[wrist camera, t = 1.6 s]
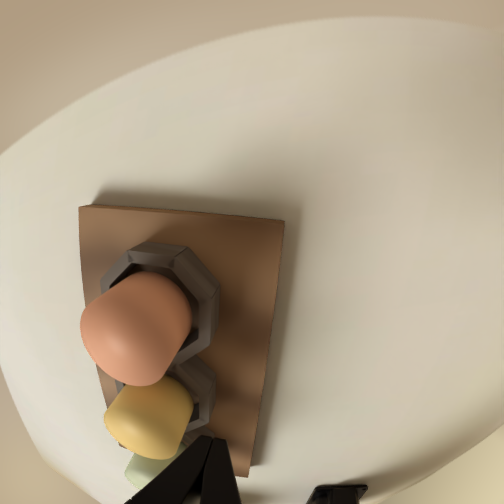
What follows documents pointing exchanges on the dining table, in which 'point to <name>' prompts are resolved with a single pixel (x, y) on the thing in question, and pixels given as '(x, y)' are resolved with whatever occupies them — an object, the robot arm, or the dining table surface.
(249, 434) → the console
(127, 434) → the button ochre
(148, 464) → the button sage
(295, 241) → the dining table surface
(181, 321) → the button terracotta
